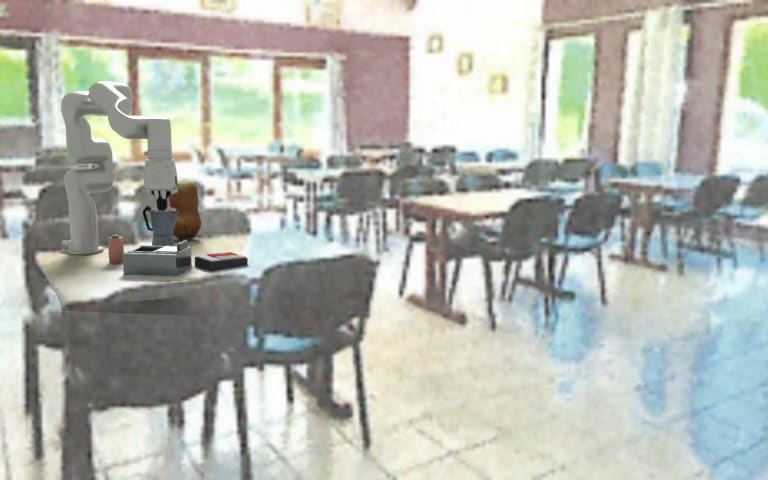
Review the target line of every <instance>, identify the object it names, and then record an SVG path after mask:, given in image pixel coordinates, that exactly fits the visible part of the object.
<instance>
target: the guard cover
mask: <svg viewBox="0 0 768 480" xmlns="http://www.w3.org/2000/svg"><path fill="white" fill-rule="evenodd" d="M189 247H190V246H189V240H182V241H180V242H178V243H177V244H176V245H175V246H165V247H163V248H161V249H159V250H157V251H156V252H171V253H181V252H183V251H185V250H186V249H188V248H189Z"/></svg>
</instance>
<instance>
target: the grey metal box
mask: <svg viewBox="0 0 768 480" xmlns="http://www.w3.org/2000/svg"><path fill="white" fill-rule="evenodd" d="M163 247H165V246H152V245H147V244H146V245H145V244H142V245H138V246H136V247H134V248H132V249H129V250H126V251H124V253H122V254H123V263H122V267H123V268H122V270H123V271H122V272H123V275H136V276H137V275H142V276H146V275H147V276H167V277H168V276H169V277H178V276H179V275H181V274H182V273H184V272H185V271H187V270H189V269H190V268H192V267H193V265H192V247H191V246H188V247H189V248H188V249H186V250H185V251H183V252H181V253H171V252H156V251H157V250H159V249H161V248H163Z"/></svg>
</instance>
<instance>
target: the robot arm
mask: <svg viewBox="0 0 768 480" xmlns="http://www.w3.org/2000/svg"><path fill="white" fill-rule="evenodd" d="M132 99H133V93H132V90H131V88H130V87H129V85H126V84H125V83H123V82H115V81H113V82H112V81H96V82H94V83H92V84H91V85H90V86H89V87H88V91H71V92H68V93H66V94H65V95H64V96H62V99H61V102H60V110H61V111H60V113H61V115H62V118H63V122H64V125H65V126H64V127H65V141H66V142H65V143H66V154H67V160H68V161H69V162H70V164H73V165H77V166H78V165H80V166H81V165H82V166H83V165H94V167H82V168H73V169H69V170H68V171H67V172H65V174H64V176H63V183H64V188H65V191H66V197H67V202H68V215H69V216H68V217H69V218H68V219H69V232H70V239H69V240H62V242H61V246H62V247H68V248H67V250H66V253H68V254H69V255H78V254H79V255H93V254H98V253H101V252H103V251H104V247H103V246H100V244H99V228H98V212H97V211H98V210H97V204H96V202H95V200H94V199H93V197H92V196H91V194H95V193H96V194H97V193H105V192H108V191H110V190H111V189H112V187H113V186H114V165H113V164H114V162H113V161H114V160H113V159H114V158H113V151H112V147H111V145H110V144H109V142H108V141H107V140H105V139H103V138H92V127H91V124H90V123H89V121H88V120H87V119H86V117H88V116H89V117H107V121H108V124H109V126H110V128H111V129H112V131H113V132H115V133H116V134H117V135H119V136H120V137H121V138H123V139H127V140H147V142H146V143H147V151H144V152H143V155H144V156H145V157H146V156H147V159H145V162H144V168H143V187H144V189H145V193H147V194H152V195H153V197H154V198H155V199H156V207H157V208H158V211H165V210H166V209H167V207H168V199H169V196H170V195H171V194H174V193H177V192H178V190H177V186H178V182H179V181H178V172H177V166H176V163H175V162H176V161H175V159H173V149H172V145H173V144H172V122H171V120H170V118H168V117H156V116H152V115H151V116H149V115H148V116H146V115H145V116H143V115H130V114H131V113H132V110H133V109H132V108H133V105H132V101H133V100H132ZM171 189H172V190H171ZM169 190H170V191H169Z"/></svg>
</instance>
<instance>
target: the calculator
mask: <svg viewBox="0 0 768 480" xmlns="http://www.w3.org/2000/svg"><path fill="white" fill-rule="evenodd" d="M248 261H249V259H248V257H246V256H245V255H242V254H239V253H235V252H231V251H228V252H217V253H208V254H207V253H206V254H202V255H196V256H194V267H196V268H199V269H202V270H204V271H208V272H216V271H220V270H221V271H222V270H227V269H234V268H238V267H239V268H240V267H245V266H248Z"/></svg>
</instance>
